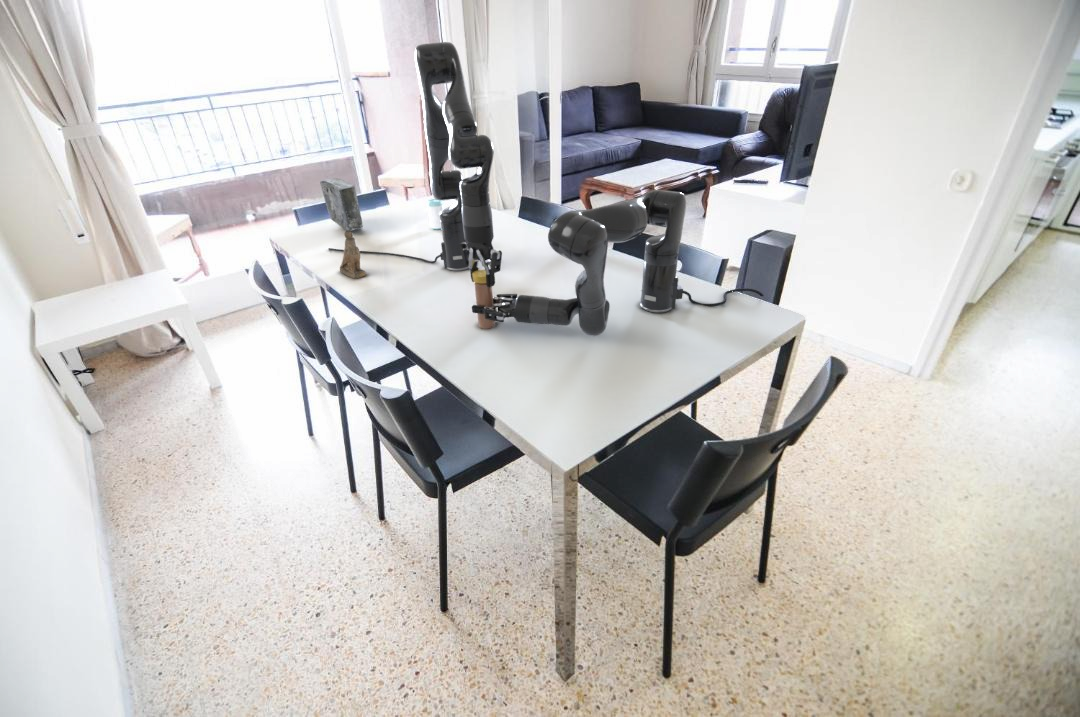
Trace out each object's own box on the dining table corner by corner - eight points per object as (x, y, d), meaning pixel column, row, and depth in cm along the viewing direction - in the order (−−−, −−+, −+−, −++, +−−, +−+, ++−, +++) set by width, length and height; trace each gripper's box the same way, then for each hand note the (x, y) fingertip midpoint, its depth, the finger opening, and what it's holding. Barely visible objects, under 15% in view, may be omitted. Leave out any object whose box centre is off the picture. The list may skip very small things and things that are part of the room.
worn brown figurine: (368, 281, 178) (362, 235, 166) (353, 285, 175) (347, 238, 163) (352, 266, 184) (346, 221, 172) (338, 270, 181) (331, 224, 169)
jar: (492, 320, 144) (488, 271, 136) (497, 326, 140) (493, 277, 132) (476, 323, 142) (471, 273, 134) (481, 330, 138) (476, 279, 131)
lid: (473, 276, 136) (472, 269, 135) (492, 275, 136) (492, 268, 135) (472, 284, 131) (471, 277, 130) (492, 283, 132) (492, 276, 131)
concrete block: (368, 232, 220) (358, 186, 209) (348, 237, 216) (336, 189, 205) (349, 220, 239) (338, 176, 228) (330, 223, 234) (319, 179, 224)
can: (445, 229, 220) (441, 202, 214) (429, 230, 220) (425, 202, 214) (447, 224, 226) (444, 198, 220) (432, 225, 226) (428, 198, 220)
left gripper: (447, 220, 127) (455, 282, 136) (487, 229, 119) (492, 294, 128) (468, 213, 132) (474, 273, 141) (508, 222, 124) (512, 285, 133)
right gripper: (541, 286, 138) (483, 282, 142) (526, 308, 126) (464, 303, 131) (541, 311, 142) (486, 306, 146) (527, 334, 130) (467, 328, 134)
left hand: (483, 283), depth 134 cm, fingers closed on lid, 5 cm apart
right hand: (476, 304), depth 138 cm, fingers closed on jar, 4 cm apart
